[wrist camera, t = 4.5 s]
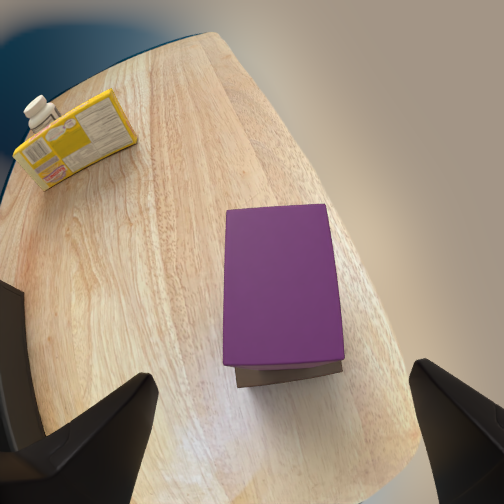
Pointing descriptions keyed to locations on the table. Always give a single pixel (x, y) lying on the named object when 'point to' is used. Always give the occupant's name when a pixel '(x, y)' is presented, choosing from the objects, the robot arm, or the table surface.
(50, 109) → the pill bottle
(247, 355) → the purple block
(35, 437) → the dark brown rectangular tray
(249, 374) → the walnut block
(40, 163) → the candy box
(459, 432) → the robot arm
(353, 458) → the table surface
